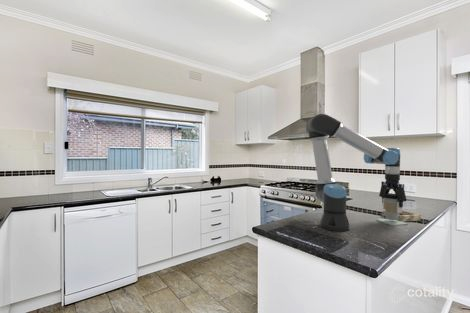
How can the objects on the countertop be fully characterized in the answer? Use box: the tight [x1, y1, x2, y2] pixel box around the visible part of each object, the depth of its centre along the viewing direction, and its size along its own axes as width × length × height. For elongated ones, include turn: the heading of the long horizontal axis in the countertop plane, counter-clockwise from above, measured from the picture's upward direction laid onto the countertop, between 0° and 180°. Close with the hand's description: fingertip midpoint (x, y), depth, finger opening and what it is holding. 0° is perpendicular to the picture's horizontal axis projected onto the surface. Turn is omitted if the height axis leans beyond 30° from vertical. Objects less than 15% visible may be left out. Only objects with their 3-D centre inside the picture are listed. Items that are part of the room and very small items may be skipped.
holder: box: [382, 209, 422, 223], centre depth 152 cm, size 14×14×4 cm
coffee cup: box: [383, 192, 399, 220], centre depth 142 cm, size 9×9×15 cm
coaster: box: [376, 218, 409, 227], centre depth 142 cm, size 11×11×1 cm
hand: (391, 210), depth 142 cm, fingers closed on coffee cup, 9 cm apart
